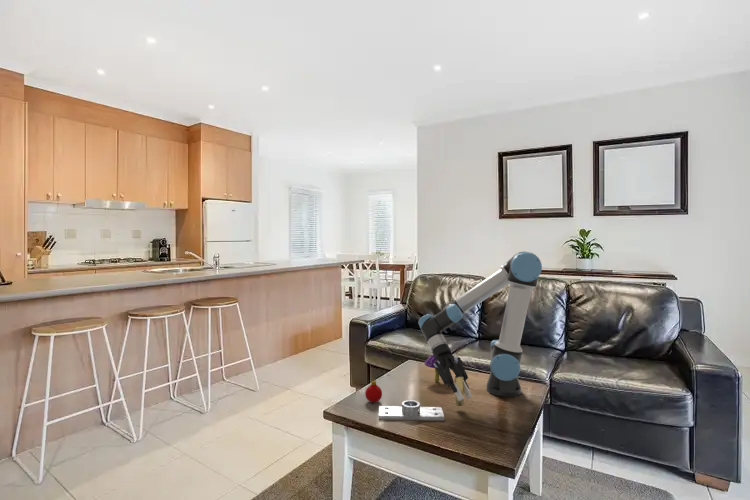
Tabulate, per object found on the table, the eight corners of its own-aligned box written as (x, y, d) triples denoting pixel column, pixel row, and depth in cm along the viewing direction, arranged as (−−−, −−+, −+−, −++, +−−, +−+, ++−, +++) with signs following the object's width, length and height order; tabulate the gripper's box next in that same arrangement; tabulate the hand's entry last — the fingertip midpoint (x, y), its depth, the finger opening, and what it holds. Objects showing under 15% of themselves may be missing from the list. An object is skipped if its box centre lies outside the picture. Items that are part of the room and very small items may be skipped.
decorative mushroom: (419, 382, 196) (419, 351, 196) (432, 375, 206) (433, 346, 205) (441, 388, 188) (441, 356, 188) (454, 381, 197) (454, 350, 197)
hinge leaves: (441, 410, 163) (441, 399, 163) (444, 420, 154) (444, 408, 154) (379, 409, 164) (379, 398, 163) (378, 419, 155) (378, 407, 154)
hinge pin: (462, 402, 165) (462, 375, 165) (464, 406, 162) (464, 378, 162) (454, 402, 165) (453, 375, 165) (455, 406, 162) (455, 378, 162)
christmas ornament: (379, 398, 176) (379, 375, 176) (383, 404, 169) (384, 380, 169) (363, 399, 174) (363, 376, 174) (367, 405, 167) (367, 381, 167)
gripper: (450, 349, 181) (476, 398, 166) (420, 354, 173) (444, 406, 159) (458, 340, 176) (486, 390, 162) (427, 345, 168) (453, 397, 154)
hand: (465, 398), depth 160 cm, fingers closed on hinge pin, 3 cm apart
